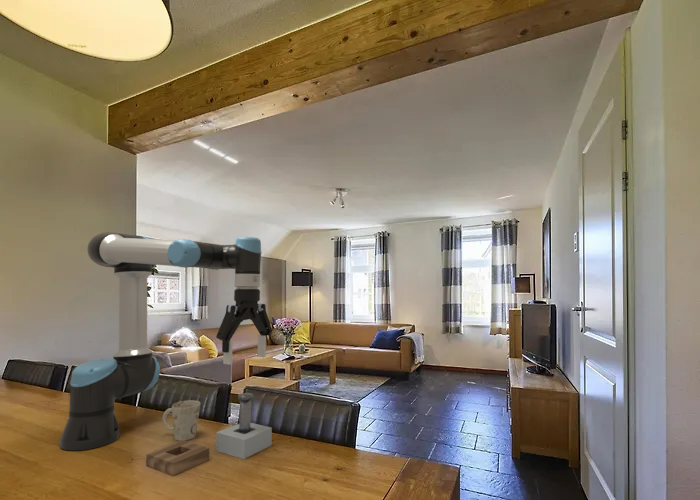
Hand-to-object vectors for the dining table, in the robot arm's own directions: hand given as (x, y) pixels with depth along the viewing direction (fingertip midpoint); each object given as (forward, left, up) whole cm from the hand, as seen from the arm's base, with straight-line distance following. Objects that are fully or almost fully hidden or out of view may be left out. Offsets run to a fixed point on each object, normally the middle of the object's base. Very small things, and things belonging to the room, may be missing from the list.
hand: (245, 360), depth 118 cm
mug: (-24, -4, -25) cm, 35 cm away
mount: (-8, -16, -25) cm, 31 cm away
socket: (0, 0, -25) cm, 25 cm away
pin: (+1, 0, -25) cm, 25 cm away
